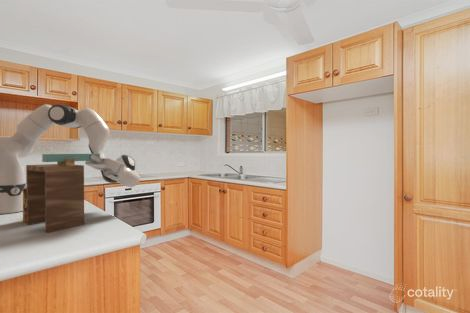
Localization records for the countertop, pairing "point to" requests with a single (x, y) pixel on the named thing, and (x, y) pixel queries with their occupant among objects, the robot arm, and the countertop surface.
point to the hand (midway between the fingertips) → (87, 156)
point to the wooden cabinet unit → (55, 195)
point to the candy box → (24, 205)
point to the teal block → (67, 157)
